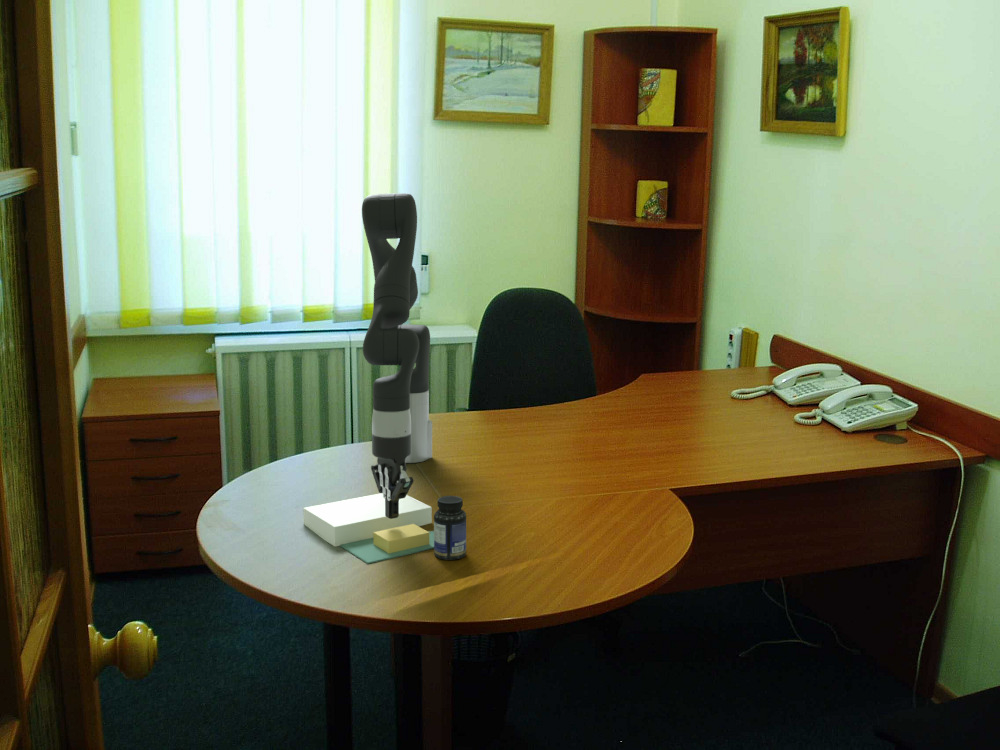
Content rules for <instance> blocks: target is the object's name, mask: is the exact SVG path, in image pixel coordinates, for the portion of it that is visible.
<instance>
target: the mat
mask: <svg viewBox="0 0 1000 750" xmlns="http://www.w3.org/2000/svg"><path fill="white" fill-rule="evenodd" d="M427 531H428V532H430V538H429V544H428V545H424V546H420V547H415V548H411V549H406V550H402V551H398V552H393V553H387V552H386V551H384V550H382V549H381V548H379V547H377V546H376V545H374V540H373V538H369V539H365V540H360V541H355V542H351V543H346V544H342V545H340V546H339V547H341V548H342V549H344V550H346V551H347V552H348V553H350V554H351V555H353V556H355V557H356V558H358V559H359V560H361V561H363V562H364V563H365V564H367V565H369V564H373V563H377V562H381V561H387V560H390V559H395V558H399V557H403V556H408V555H411V554H416V553H420V552H424V551H428V550H432V549H433V550H434V530H427Z"/></svg>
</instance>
